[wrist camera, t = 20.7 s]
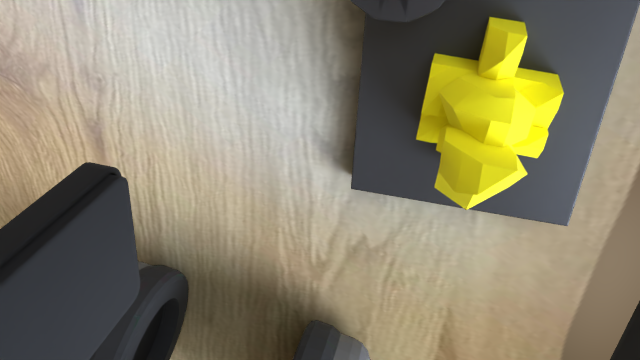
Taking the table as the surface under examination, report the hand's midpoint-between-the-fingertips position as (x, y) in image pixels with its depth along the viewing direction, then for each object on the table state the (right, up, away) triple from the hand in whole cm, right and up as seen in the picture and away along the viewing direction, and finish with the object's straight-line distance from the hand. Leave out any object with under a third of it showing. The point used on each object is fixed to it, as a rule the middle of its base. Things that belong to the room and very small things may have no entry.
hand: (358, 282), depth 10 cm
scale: (+8, +7, +19) cm, 21 cm away
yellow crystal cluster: (+8, +6, +18) cm, 20 cm away
